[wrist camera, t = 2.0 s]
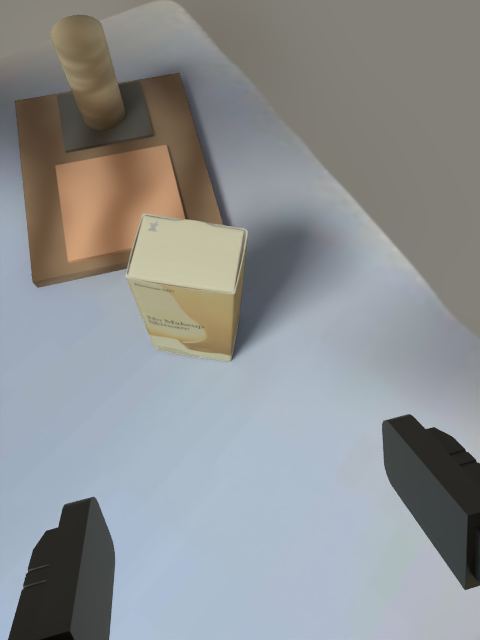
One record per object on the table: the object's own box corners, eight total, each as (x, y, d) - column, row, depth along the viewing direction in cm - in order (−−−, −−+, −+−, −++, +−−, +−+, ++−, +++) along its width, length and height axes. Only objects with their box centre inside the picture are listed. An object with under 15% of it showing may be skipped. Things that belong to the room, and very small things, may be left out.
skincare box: (153, 351, 36) (116, 277, 24) (165, 301, 37) (136, 210, 26) (235, 363, 35) (236, 295, 24) (244, 312, 37) (249, 225, 26)
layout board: (37, 287, 38) (-21, 221, 29) (19, 109, 45) (-32, 14, 36) (227, 246, 39) (226, 172, 31) (180, 81, 47) (168, -16, 38)
